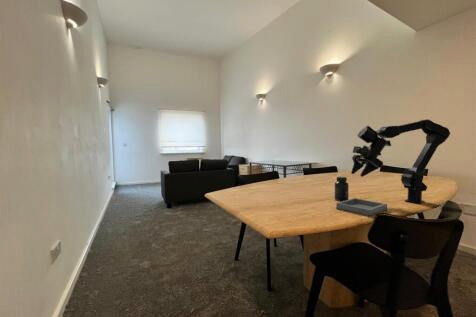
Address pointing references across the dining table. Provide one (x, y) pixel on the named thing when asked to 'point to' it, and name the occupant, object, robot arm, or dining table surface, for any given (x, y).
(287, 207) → the dining table surface
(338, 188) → the supplement bottle
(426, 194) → the dining table surface
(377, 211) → the slate tray
